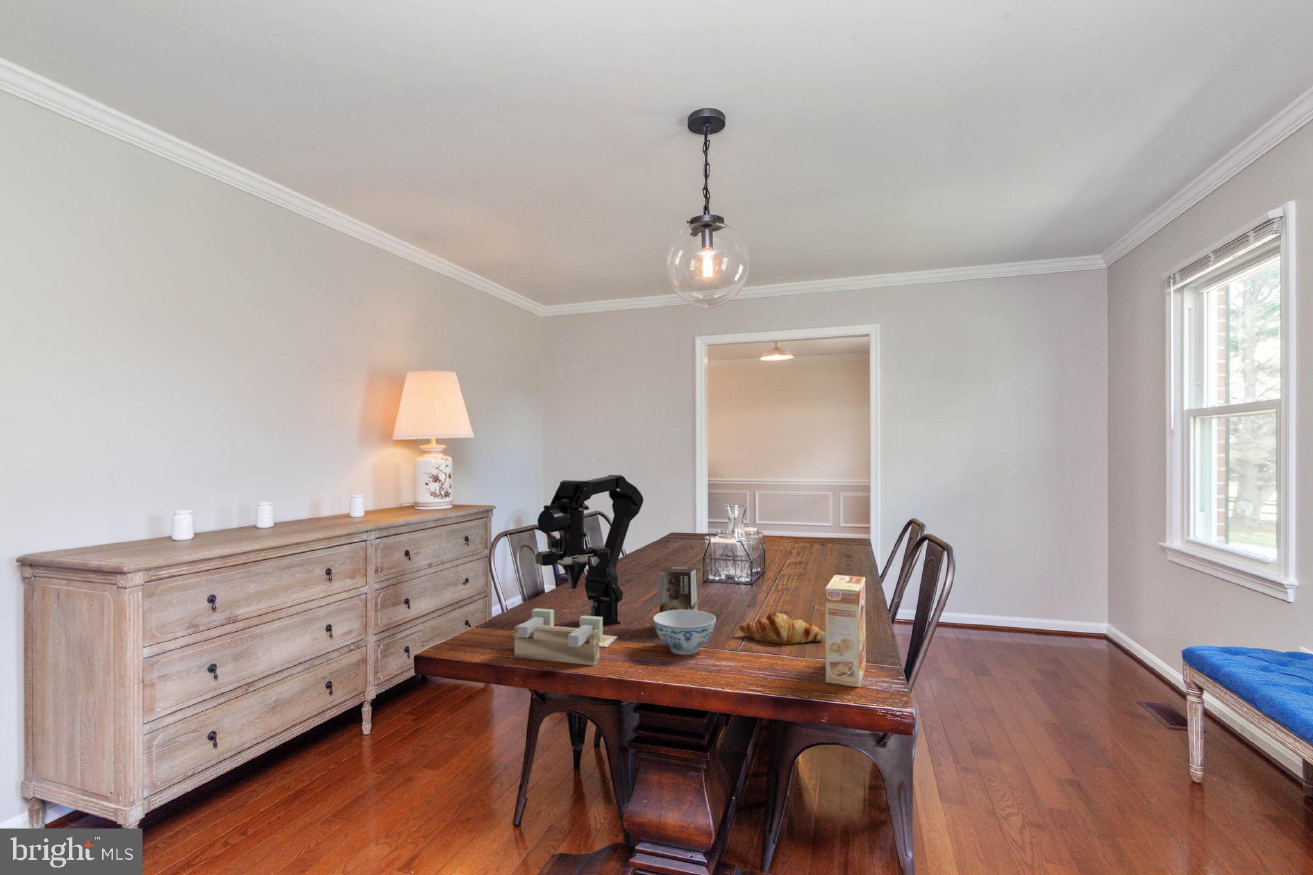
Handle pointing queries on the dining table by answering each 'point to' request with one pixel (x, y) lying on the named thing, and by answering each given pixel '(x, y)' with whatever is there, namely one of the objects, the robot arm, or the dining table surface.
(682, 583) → the coffee box
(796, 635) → the croissant
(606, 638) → the card
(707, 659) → the dining table surface
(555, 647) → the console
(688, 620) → the chinaware
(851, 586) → the coffeecake box
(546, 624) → the button
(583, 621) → the button
